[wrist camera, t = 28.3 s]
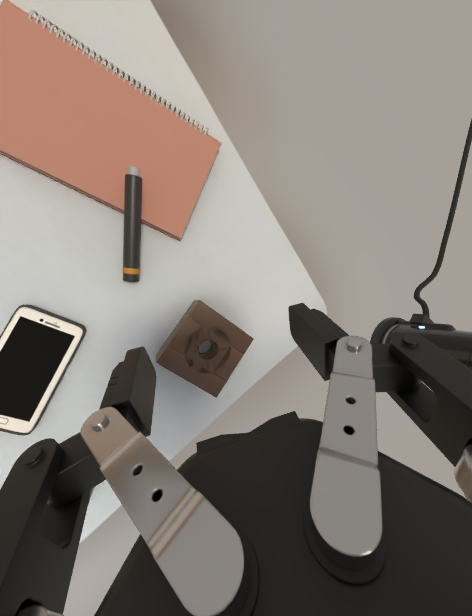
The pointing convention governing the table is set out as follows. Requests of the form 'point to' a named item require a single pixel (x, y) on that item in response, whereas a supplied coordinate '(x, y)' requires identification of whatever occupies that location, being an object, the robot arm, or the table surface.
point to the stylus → (132, 224)
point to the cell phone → (33, 364)
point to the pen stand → (212, 365)
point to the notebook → (95, 124)
